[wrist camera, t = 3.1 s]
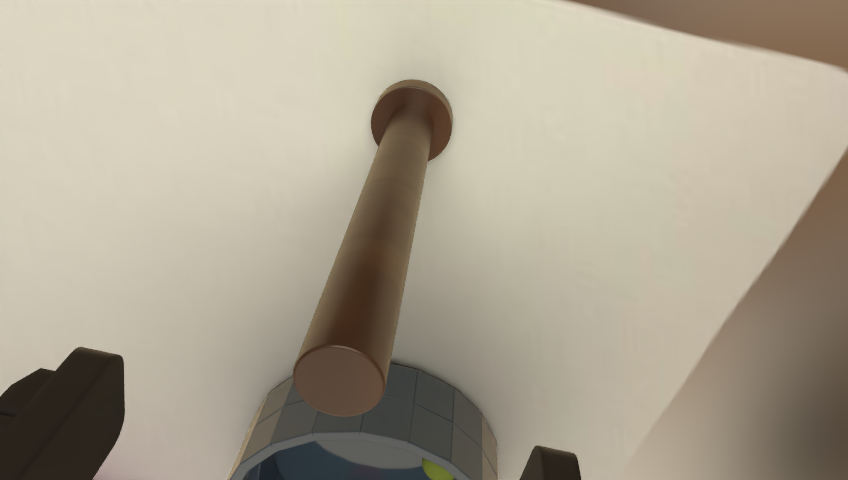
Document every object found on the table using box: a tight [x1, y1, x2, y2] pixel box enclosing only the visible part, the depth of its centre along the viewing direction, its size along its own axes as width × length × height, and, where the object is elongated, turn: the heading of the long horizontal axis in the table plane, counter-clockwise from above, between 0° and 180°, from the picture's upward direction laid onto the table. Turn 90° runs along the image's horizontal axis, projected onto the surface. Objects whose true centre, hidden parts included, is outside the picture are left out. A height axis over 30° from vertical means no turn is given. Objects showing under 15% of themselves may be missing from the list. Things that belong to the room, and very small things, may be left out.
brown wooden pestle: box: [293, 80, 453, 417], centre depth 21 cm, size 4×4×18 cm
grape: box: [422, 458, 455, 480], centre depth 37 cm, size 2×2×2 cm
